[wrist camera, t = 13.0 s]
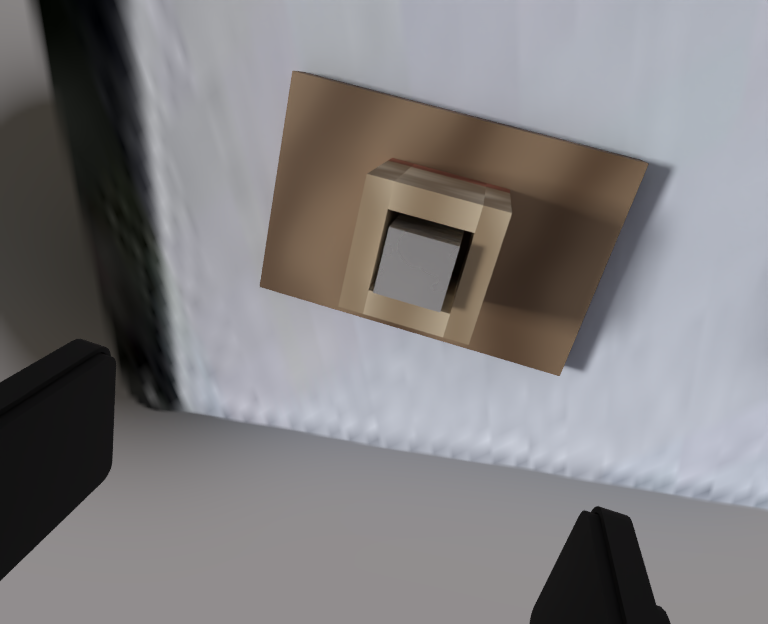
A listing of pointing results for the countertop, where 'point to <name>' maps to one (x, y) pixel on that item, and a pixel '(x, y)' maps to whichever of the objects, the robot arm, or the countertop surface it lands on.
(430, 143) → the pin board
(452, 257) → the steel pin
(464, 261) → the sleeve
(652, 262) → the countertop surface
